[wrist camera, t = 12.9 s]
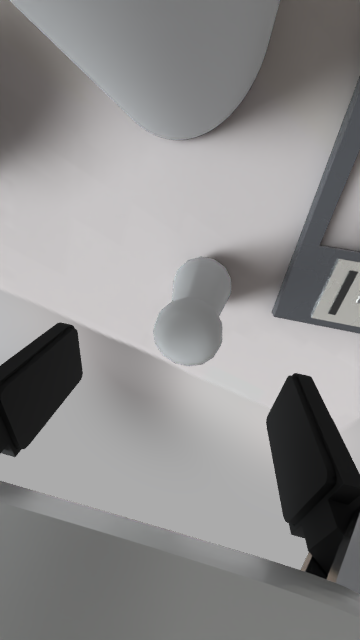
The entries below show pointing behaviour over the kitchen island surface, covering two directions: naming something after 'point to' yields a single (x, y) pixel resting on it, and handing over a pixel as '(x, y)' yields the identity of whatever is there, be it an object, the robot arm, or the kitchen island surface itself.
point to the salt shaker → (194, 313)
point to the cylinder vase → (163, 54)
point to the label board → (321, 261)
